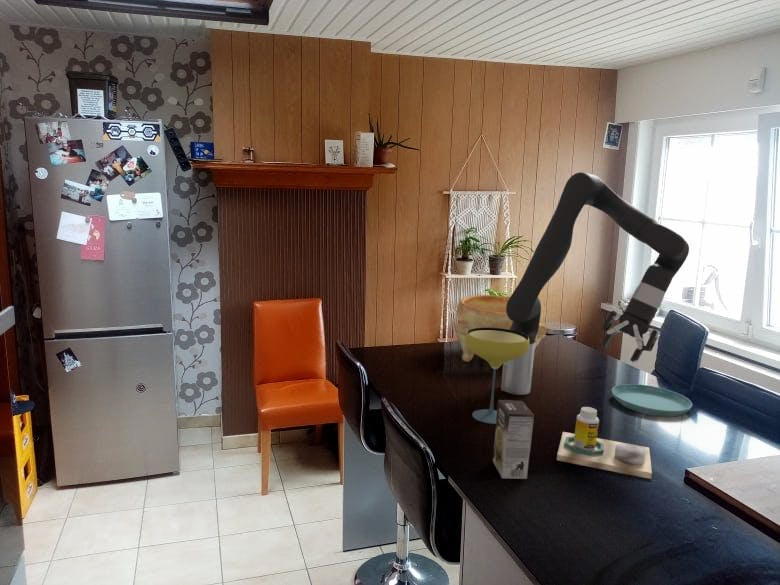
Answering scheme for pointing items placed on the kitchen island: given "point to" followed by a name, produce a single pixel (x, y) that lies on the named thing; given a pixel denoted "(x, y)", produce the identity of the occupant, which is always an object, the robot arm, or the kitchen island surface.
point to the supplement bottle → (586, 429)
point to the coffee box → (512, 439)
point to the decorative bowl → (484, 318)
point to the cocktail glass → (495, 356)
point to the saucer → (651, 400)
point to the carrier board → (607, 456)
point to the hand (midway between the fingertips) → (618, 354)
